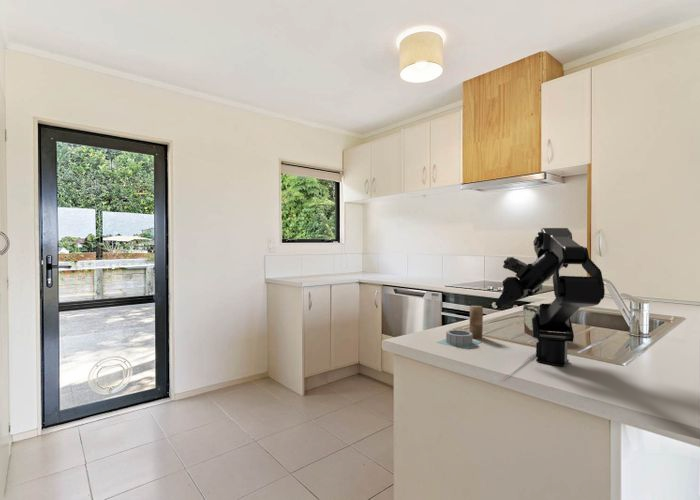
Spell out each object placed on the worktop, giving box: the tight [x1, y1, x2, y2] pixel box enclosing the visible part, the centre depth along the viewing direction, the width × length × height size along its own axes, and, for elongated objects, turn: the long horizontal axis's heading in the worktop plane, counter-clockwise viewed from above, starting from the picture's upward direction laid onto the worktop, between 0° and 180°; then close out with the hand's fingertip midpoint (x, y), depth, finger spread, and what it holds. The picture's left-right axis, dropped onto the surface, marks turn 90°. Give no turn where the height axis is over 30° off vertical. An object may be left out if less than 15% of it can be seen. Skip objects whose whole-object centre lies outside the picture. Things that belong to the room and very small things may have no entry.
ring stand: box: [436, 329, 482, 350], centre depth 110 cm, size 10×10×4 cm
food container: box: [522, 304, 549, 341], centre depth 123 cm, size 12×6×10 cm, turn 179°
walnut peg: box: [468, 305, 484, 340], centre depth 117 cm, size 4×4×11 cm
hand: (502, 303), depth 108 cm, fingers open, 9 cm apart
